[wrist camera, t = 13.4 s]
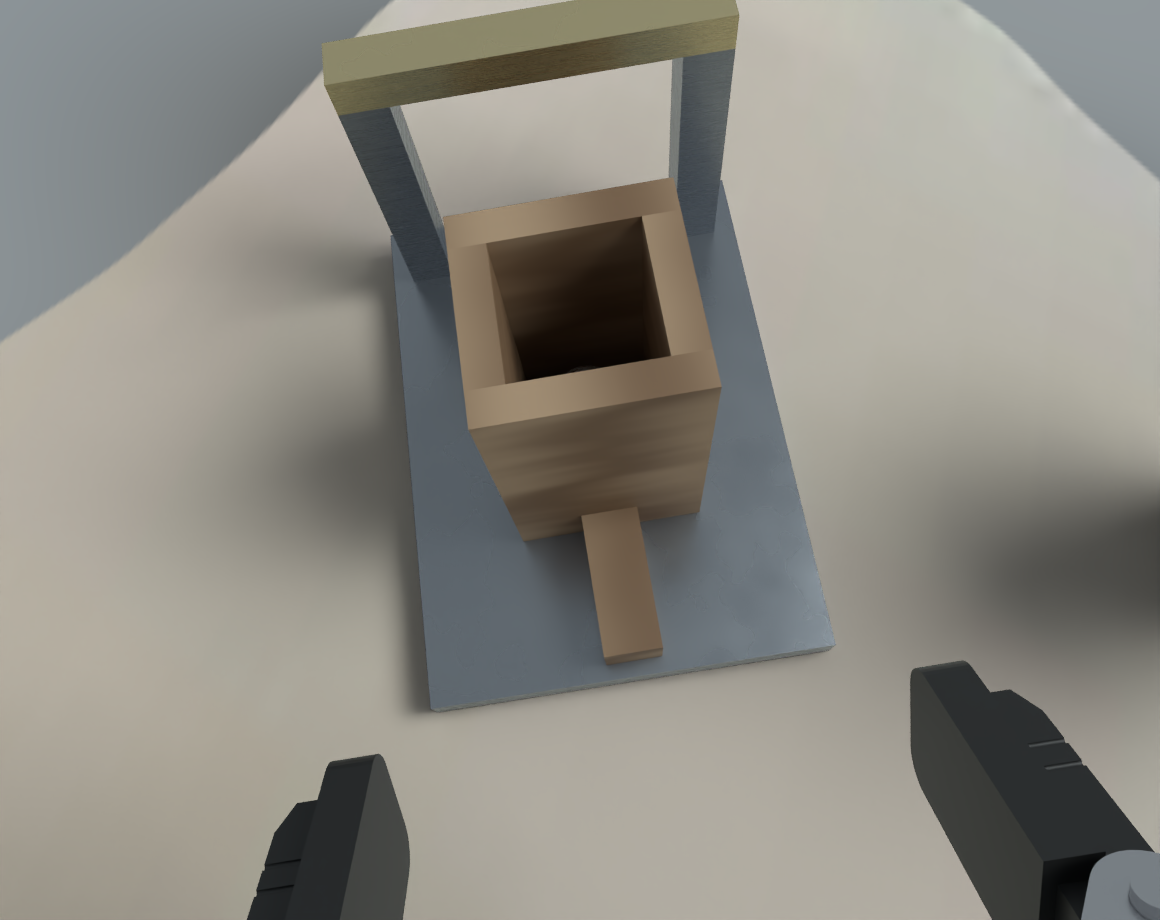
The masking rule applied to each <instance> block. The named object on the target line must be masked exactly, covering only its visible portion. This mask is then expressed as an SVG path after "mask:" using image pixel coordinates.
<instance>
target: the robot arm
mask: <svg viewBox="0 0 1160 920" xmlns="http://www.w3.org/2000/svg"><path fill="white" fill-rule="evenodd" d="M910 708H911V754H912V760H913V765H914V769H915V772H916V775H917V778H918V781H919V784H920V786H921V789H922V791H923V793H924V794H925V796H926V798H927V800H928V802H929V804H930V806H931V807H932V809H933V811H934V813H935V815H936V817H937V818H938V820H939V822H940V824H941V826H942V828H943V830H944V831H945V833H946V835H947V837H948V839H949V841H950V843H951V844H952V846H953V848H954V850H955V852H956V854H957V856H958V857H959V859H960V861H961V863H962V865H963V867H964V868H965V870H966V872H967V874H968V876H969V878H970V880H971V881H972V883H973V885H974V887H975V889H976V891H977V893H978V894H979V896H980V898H981V900H982V902H983V904H984V905H985V907H986V909H987V911H988V913H989V915H990V917H991V918H992V920H1160V854H1159V853H1155V852H1154V851H1153V850H1152V848H1151V847H1150V846H1149V845H1148V844H1147V842H1146V841H1145V840H1144V838H1143V837H1142V836H1141V835H1140V833H1139V832H1138V831H1137V830H1136V828H1135V827H1134V826H1133V825H1132V823H1131V822H1130V821H1129V819H1128V818H1127V817H1126V816H1125V814H1124V813H1123V812H1122V811H1121V809H1120V808H1119V807H1118V806H1117V804H1116V803H1115V802H1114V800H1113V799H1112V798H1111V797H1110V795H1109V794H1108V793H1107V792H1106V790H1105V789H1104V788H1103V786H1102V785H1101V784H1100V783H1099V781H1098V780H1097V779H1096V778H1095V776H1094V775H1093V774H1092V773H1091V771H1090V770H1089V769H1088V767H1087V766H1083V764H1082V761H1081V759H1080V757H1079V756H1078V755H1077V754H1076V752H1075V751H1074V750H1073V748H1072V747H1071V746H1070V745H1069V743H1065V741H1064V737H1063V736H1062V734H1061V733H1060V732H1059V731H1058V729H1057V728H1056V727H1055V726H1054V724H1053V723H1052V722H1051V721H1050V719H1049V718H1048V717H1047V715H1046V714H1045V713H1044V712H1043V711H1042V710H1041V709H1039V708H1038V707H1036V706H1035V705H1033V704H1032V703H1030V702H1029V701H1027V700H1026V699H1024V698H1022V697H1021V696H1019V695H1018V694H1016V693H1015V692H1013V691H1012V690H1004V691H997V692H991V693H990V692H989V690H988V689H987V687H986V686H985V685H984V683H983V682H982V681H981V679H980V678H979V676H978V675H977V674H976V672H975V671H974V670H973V668H972V667H971V666H970V665H969V664H968V663H967V662H965V661H957V662H951V663H945V664H938V665H932V666H926V667H920V668H915V669H913V670H912V673H911V678H910ZM409 868H410V851H409V841H408V834H407V830H406V826H405V822H404V819H403V816H402V813H401V810H400V807H399V804H398V801H397V797H396V794H395V791H394V788H393V785H392V782H391V779H390V776H389V772H388V769H387V766H386V763H385V761H384V759H383V757H382V756H381V755H380V754H375V755H369V756H363V757H357V758H350V759H344V760H338V761H332V762H330V763H329V764H328V766H327V768H326V771H325V775H324V778H323V782H322V786H321V789H320V793H319V797H318V800H314V801H308V802H302V803H297V804H296V805H295V807H294V808H293V809H292V811H291V812H290V813H289V815H288V816H287V817H286V819H285V820H284V821H283V823H282V824H281V825H280V827H279V828H278V829H277V830H276V832H275V833H274V836H273V839H272V843H271V846H270V849H269V852H268V855H267V858H266V861H265V871H262V874H261V877H260V880H259V883H258V887H257V890H256V891H257V896H256V897H254V899H253V902H252V905H251V908H250V912H249V915H248V918H247V920H403V913H404V906H405V898H406V891H407V884H408V877H409Z"/></svg>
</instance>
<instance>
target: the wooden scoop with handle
mask: <svg viewBox="0 0 1160 920" xmlns="http://www.w3.org/2000/svg"><path fill="white" fill-rule="evenodd" d="M443 220H444V229H445V237H446V246H447V254H448V263H449V271H450V279H451V288H452V296H453V305H454V313H455V322H456V330H457V339H458V347H459V356H460V364H461V372H462V381H463V389H464V398H465V406H466V415H467V423H468V430H469V432H470V434H471V436H472V438H473V440H474V442H475V444H476V446H477V448H478V450H479V452H480V454H481V456H482V458H483V461H484V463H485V465H486V467H487V469H488V471H489V473H490V475H491V477H492V479H493V481H494V483H495V485H496V487H497V489H498V491H499V493H500V495H501V497H502V499H503V501H504V503H505V505H506V507H507V509H508V511H509V513H510V515H511V517H512V519H513V521H514V523H515V525H516V527H517V529H518V531H519V533H520V535H521V537H522V539H523V541H530V540H536V539H542V538H548V537H554V536H560V535H566V534H572V533H578V532H583V531H584V536H585V542H586V548H587V554H588V561H589V567H590V573H591V579H592V586H593V592H594V598H595V604H596V611H597V617H598V623H599V629H600V635H601V642H602V648H603V654H604V659H605V662H606V665H612V664H618V663H624V662H630V661H636V660H642V659H648V658H654V657H660V656H662V654H663V644H662V639H661V633H660V628H659V622H658V617H657V612H656V606H655V601H654V595H653V590H652V584H651V579H650V574H649V568H648V563H647V557H646V552H645V546H644V541H643V536H642V530H641V525H640V522H643V521H649V520H655V519H661V518H667V517H673V516H679V515H685V514H691V513H697V512H700V506H701V501H702V495H703V489H704V484H705V478H706V472H707V467H708V461H709V455H710V450H711V444H712V439H713V433H714V427H715V422H716V416H717V410H718V405H719V399H720V393H721V388H722V386H721V381H720V377H719V373H718V368H717V364H716V360H715V355H714V351H713V347H712V342H711V338H710V334H709V329H708V325H707V321H706V316H705V312H704V308H703V303H702V299H701V295H700V290H699V286H698V282H697V277H696V273H695V269H694V264H693V260H692V256H691V251H690V247H689V243H688V238H687V234H686V230H685V225H684V221H683V217H682V212H681V208H680V204H679V199H678V195H677V191H676V186H675V182H674V178H673V177H672V178H666V179H660V180H654V181H649V182H643V183H637V184H631V185H625V186H620V187H614V188H608V189H602V190H597V191H591V192H585V193H579V194H573V195H568V196H562V197H556V198H550V199H545V200H539V201H533V202H527V203H521V204H516V205H510V206H504V207H498V208H493V209H487V210H481V211H475V212H469V213H464V214H458V215H452V216H446V217H443ZM580 366H595V367H598V369H592V370H586V371H580V372H575V373H569V374H566V373H567V372H569V371H570V370H572V369H574V368H577V367H580Z"/></svg>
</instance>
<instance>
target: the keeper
mask: <svg viewBox="0 0 1160 920" xmlns="http://www.w3.org/2000/svg"><path fill="white" fill-rule="evenodd" d="M738 21H739V12H738V8H737V4H736V1H735V0H573V1H567V2H561V3H556V4H550V5H544V6H538V7H532V8H526V9H520V10H515V11H509V12H503V13H497V14H491V15H485V16H479V17H473V18H468V19H462V20H456V21H450V22H444V23H438V24H432V25H427V26H421V27H415V28H409V29H403V30H397V31H391V32H386V33H380V34H374V35H368V36H362V37H356V38H351V39H345V40H339V41H333V42H328V43H322V56H323V73H324V86H325V88H326V90H327V92H328V95H329V97H330V99H331V101H332V103H333V106H334V108H335V110H336V112H337V114H338V116H339V119H340V121H341V123H342V125H343V127H344V130H345V132H346V134H347V136H348V138H349V140H350V143H351V145H352V147H353V149H354V151H355V154H356V156H357V158H358V160H359V162H360V165H361V167H362V169H363V171H364V173H365V175H366V178H367V180H368V182H369V184H370V186H371V189H372V191H373V193H374V195H375V197H376V199H377V202H378V204H379V206H380V208H381V210H382V213H383V215H384V217H385V219H386V221H387V224H388V226H389V228H390V230H391V232H392V234H393V235H391V246H392V258H393V270H394V282H395V294H396V305H397V317H398V329H399V341H400V353H401V364H402V376H403V388H404V400H405V412H406V423H407V435H408V447H409V459H410V471H411V482H412V494H413V506H414V518H415V530H416V541H417V553H418V565H419V577H420V588H421V600H422V612H423V624H424V636H425V647H426V659H427V671H428V683H429V695H430V706H431V709H432V710H434V711H437V712H444V711H451V710H457V709H463V708H469V707H476V706H482V705H488V704H495V703H501V702H507V701H514V700H520V699H526V698H533V697H539V696H545V695H552V694H558V693H564V692H570V691H577V690H583V689H589V688H596V687H602V686H608V685H615V684H621V683H627V682H634V681H640V680H646V679H653V678H659V677H665V676H672V675H678V674H684V673H690V672H697V671H703V670H709V669H716V668H722V667H728V666H735V665H741V664H747V663H754V662H760V661H766V660H773V659H779V658H785V657H791V656H798V655H804V654H810V653H817V652H823V651H829V650H830V649H831V648H832V647H834V646H835V645H836V644H835V640H834V636H833V632H832V628H831V624H830V620H829V616H828V612H827V607H826V603H825V599H824V595H823V591H822V587H821V583H820V579H819V575H818V571H817V567H816V563H815V558H814V554H813V550H812V546H811V542H810V538H809V534H808V530H807V526H806V522H805V518H804V513H803V509H802V505H801V501H800V497H799V493H798V489H797V485H796V481H795V477H794V473H793V469H792V464H791V460H790V456H789V452H788V448H787V444H786V440H785V436H784V432H783V428H782V424H781V420H780V415H779V411H778V407H777V403H776V399H775V395H774V391H773V387H772V383H771V379H770V375H769V370H768V366H767V362H766V358H765V354H764V350H763V346H762V342H761V338H760V334H759V330H758V326H757V321H756V317H755V313H754V309H753V305H752V301H751V297H750V293H749V289H748V285H747V281H746V276H745V272H744V268H743V264H742V260H741V256H740V252H739V248H738V244H737V240H736V236H735V232H734V227H733V223H732V219H731V215H730V211H729V207H728V203H727V199H726V195H725V191H724V187H723V182H722V180H720V177H721V169H722V160H723V151H724V143H725V134H726V125H727V117H728V108H729V99H730V91H731V82H732V73H733V65H734V56H735V47H736V39H737V30H738ZM671 59H672V88H671V119H670V151H669V178H672V177H673V178H674V182H675V186H676V191H677V195H678V199H679V204H680V208H681V212H682V217H683V221H684V225H685V230H686V234H687V238H688V243H689V247H690V251H691V256H692V260H693V264H694V269H695V273H696V277H697V282H698V286H699V290H700V295H701V299H702V303H703V308H704V312H705V316H706V321H707V325H708V329H709V334H710V338H711V342H712V347H713V351H714V355H715V360H716V364H717V368H718V373H719V377H720V381H721V386H722V388H721V393H720V399H719V405H718V410H717V416H716V422H715V427H714V433H713V439H712V444H711V450H710V455H709V461H708V467H707V472H706V478H705V484H704V489H703V495H702V501H701V506H700V512H697V513H691V514H685V515H679V516H673V517H667V518H661V519H655V520H649V521H643V522H640V525H641V530H642V536H643V541H644V546H645V552H646V557H647V563H648V568H649V574H650V579H651V584H652V590H653V595H654V601H655V606H656V612H657V617H658V622H659V628H660V633H661V639H662V644H663V654H662V656H660V657H654V658H648V659H642V660H636V661H630V662H624V663H618V664H612V665H606V662H605V659H604V654H603V648H602V642H601V635H600V629H599V623H598V617H597V611H596V604H595V598H594V592H593V586H592V579H591V573H590V567H589V561H588V554H587V548H586V542H585V536H584V531H583V532H578V533H572V534H566V535H560V536H554V537H548V538H542V539H536V540H530V541H523V539H522V537H521V535H520V533H519V531H518V529H517V527H516V525H515V523H514V521H513V519H512V517H511V515H510V513H509V511H508V509H507V507H506V505H505V503H504V501H503V499H502V497H501V495H500V493H499V491H498V489H497V487H496V485H495V483H494V481H493V479H492V477H491V475H490V473H489V471H488V469H487V467H486V465H485V463H484V461H483V458H482V456H481V454H480V452H479V450H478V448H477V446H476V444H475V442H474V440H473V438H472V436H471V434H470V432H469V430H468V423H467V415H466V406H465V398H464V389H463V381H462V372H461V364H460V356H459V347H458V339H457V330H456V322H455V313H454V305H453V296H452V288H451V279H450V271H449V263H448V254H447V246H446V237H445V229H444V226H443V223H442V220H441V217H440V215H439V212H438V209H437V206H436V204H435V201H434V198H433V195H432V192H431V190H430V187H429V184H428V181H427V179H426V176H425V173H424V170H423V168H422V165H421V162H420V159H419V156H418V154H417V151H416V148H415V145H414V143H413V140H412V137H411V134H410V132H409V129H408V126H407V123H406V120H405V118H404V115H403V112H402V109H401V107H400V105H405V104H411V103H417V102H423V101H428V100H434V99H440V98H446V97H452V96H458V95H464V94H470V93H476V92H482V91H487V90H493V89H499V88H505V87H511V86H517V85H523V84H529V83H535V82H541V81H547V80H552V79H558V78H564V77H570V76H576V75H582V74H588V73H594V72H600V71H606V70H611V69H617V68H623V67H629V66H635V65H641V64H647V63H653V62H659V61H665V60H671ZM592 369H598V367H595V366H580V367H577V368H574V369H572V370H570V371H569V372H567V373H566V374H569V373H575V372H580V371H586V370H592Z"/></svg>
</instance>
